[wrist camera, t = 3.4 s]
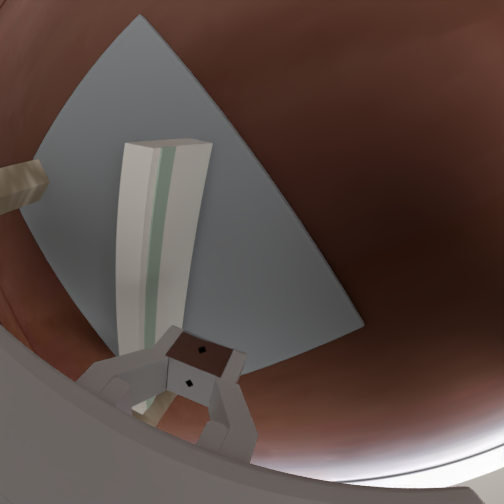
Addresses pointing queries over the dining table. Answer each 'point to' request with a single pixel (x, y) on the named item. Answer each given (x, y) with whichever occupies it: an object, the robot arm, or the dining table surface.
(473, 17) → the dining table surface
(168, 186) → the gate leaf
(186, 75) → the mat
